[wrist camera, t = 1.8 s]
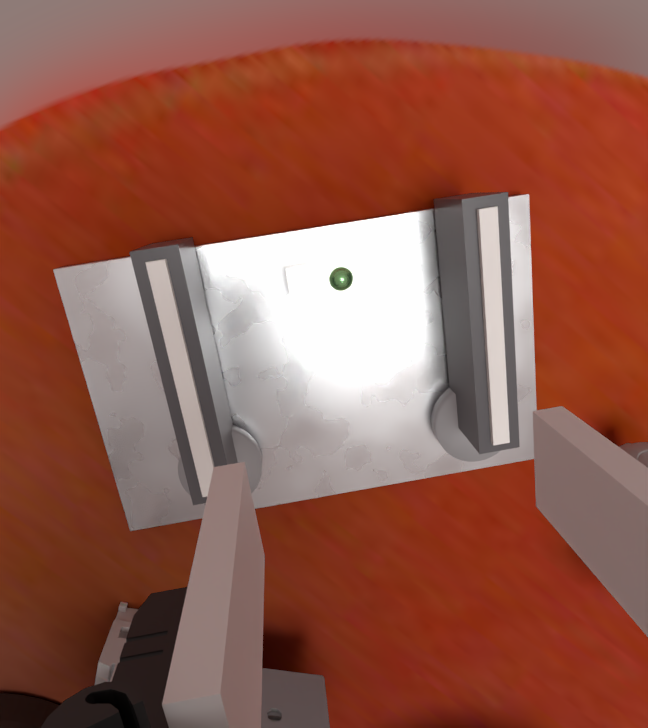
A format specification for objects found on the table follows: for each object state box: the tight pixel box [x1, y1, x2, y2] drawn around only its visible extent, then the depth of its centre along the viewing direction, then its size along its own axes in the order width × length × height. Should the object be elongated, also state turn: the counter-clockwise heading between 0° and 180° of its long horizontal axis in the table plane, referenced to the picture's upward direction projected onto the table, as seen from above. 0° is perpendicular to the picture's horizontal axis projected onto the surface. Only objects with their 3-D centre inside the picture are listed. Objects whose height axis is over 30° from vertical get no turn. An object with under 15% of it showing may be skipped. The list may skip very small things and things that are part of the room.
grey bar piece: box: [130, 237, 262, 505], centre depth 27 cm, size 4×14×5 cm, turn 9°
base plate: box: [53, 194, 536, 531], centre depth 29 cm, size 24×15×3 cm, turn 99°
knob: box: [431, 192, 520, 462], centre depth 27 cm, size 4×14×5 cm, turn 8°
